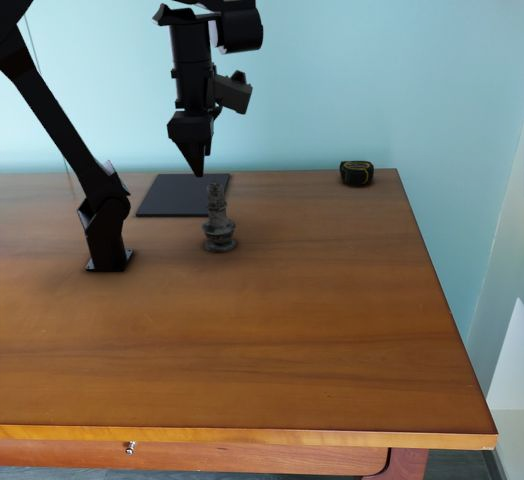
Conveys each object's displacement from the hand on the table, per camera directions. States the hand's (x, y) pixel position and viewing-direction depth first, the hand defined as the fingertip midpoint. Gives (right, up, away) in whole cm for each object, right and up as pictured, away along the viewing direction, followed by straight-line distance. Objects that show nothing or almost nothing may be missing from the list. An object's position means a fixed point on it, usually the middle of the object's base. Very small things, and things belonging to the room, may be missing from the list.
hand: (203, 165), depth 86 cm
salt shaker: (+2, -12, +6) cm, 14 cm away
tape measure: (+29, +6, +26) cm, 39 cm away
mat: (-6, +2, +23) cm, 24 cm away
